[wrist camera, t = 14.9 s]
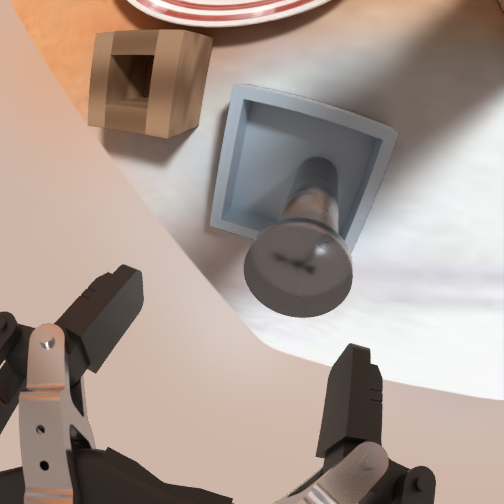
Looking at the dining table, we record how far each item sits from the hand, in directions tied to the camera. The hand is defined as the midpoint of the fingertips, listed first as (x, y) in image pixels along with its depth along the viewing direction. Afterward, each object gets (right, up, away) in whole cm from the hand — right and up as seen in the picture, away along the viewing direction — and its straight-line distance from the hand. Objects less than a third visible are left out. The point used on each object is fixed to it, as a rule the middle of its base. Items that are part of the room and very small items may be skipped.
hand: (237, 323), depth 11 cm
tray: (+5, +10, +16) cm, 20 cm away
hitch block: (-8, +20, +14) cm, 25 cm away
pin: (+6, +9, +15) cm, 19 cm away
